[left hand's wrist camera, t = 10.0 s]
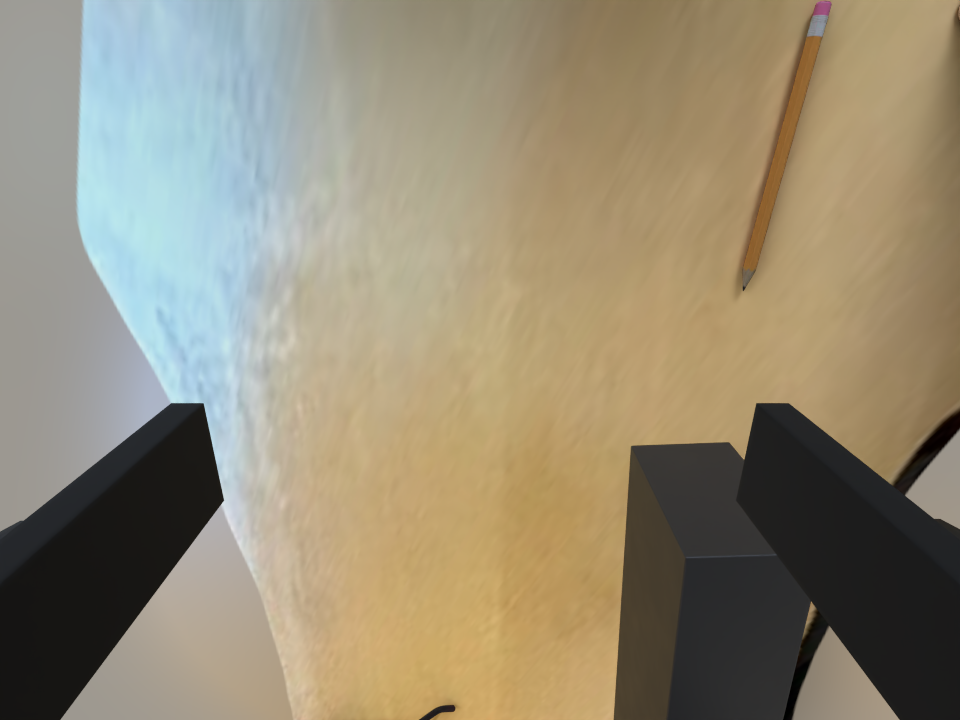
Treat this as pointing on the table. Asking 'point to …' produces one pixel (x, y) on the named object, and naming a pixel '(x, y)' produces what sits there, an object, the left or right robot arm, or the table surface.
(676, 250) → the table surface
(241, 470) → the table surface
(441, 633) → the table surface
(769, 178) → the pencil
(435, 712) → the eyeglasses
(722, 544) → the bar
